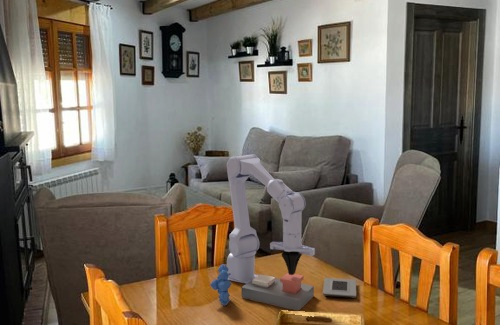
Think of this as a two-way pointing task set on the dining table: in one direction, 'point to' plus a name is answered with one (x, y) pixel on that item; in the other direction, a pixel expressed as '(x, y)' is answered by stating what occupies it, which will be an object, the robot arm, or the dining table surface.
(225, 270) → the grapes
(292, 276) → the red plunger
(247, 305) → the dining table surface
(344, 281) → the electrical outlet
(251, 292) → the panel
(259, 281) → the white plunger
